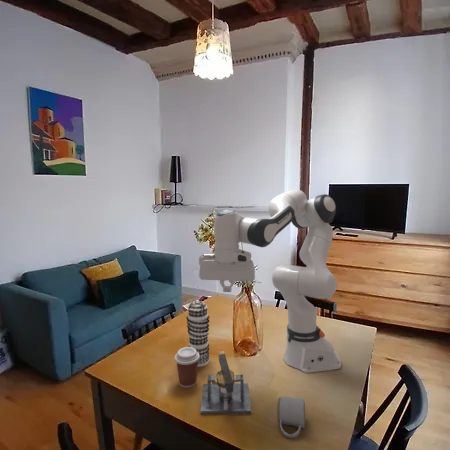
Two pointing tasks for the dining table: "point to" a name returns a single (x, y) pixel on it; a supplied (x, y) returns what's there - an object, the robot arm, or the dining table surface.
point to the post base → (232, 403)
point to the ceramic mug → (291, 413)
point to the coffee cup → (187, 366)
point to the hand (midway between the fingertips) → (227, 291)
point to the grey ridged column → (199, 330)
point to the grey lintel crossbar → (225, 374)
